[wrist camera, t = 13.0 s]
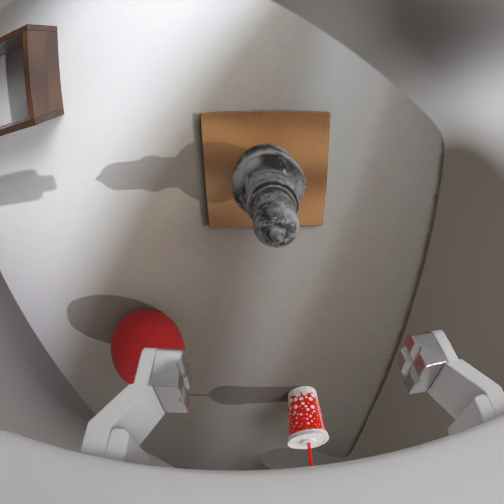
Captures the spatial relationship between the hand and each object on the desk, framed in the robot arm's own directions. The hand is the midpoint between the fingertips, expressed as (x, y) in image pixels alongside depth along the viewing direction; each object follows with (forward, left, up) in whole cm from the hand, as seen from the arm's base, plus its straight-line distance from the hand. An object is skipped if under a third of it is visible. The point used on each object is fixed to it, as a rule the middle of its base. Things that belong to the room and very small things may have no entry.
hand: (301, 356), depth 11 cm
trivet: (0, 0, -21) cm, 21 cm away
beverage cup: (+36, +6, -21) cm, 42 cm away
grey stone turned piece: (0, 0, -20) cm, 20 cm away
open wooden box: (-12, -26, -21) cm, 35 cm away
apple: (+19, -14, -21) cm, 32 cm away
